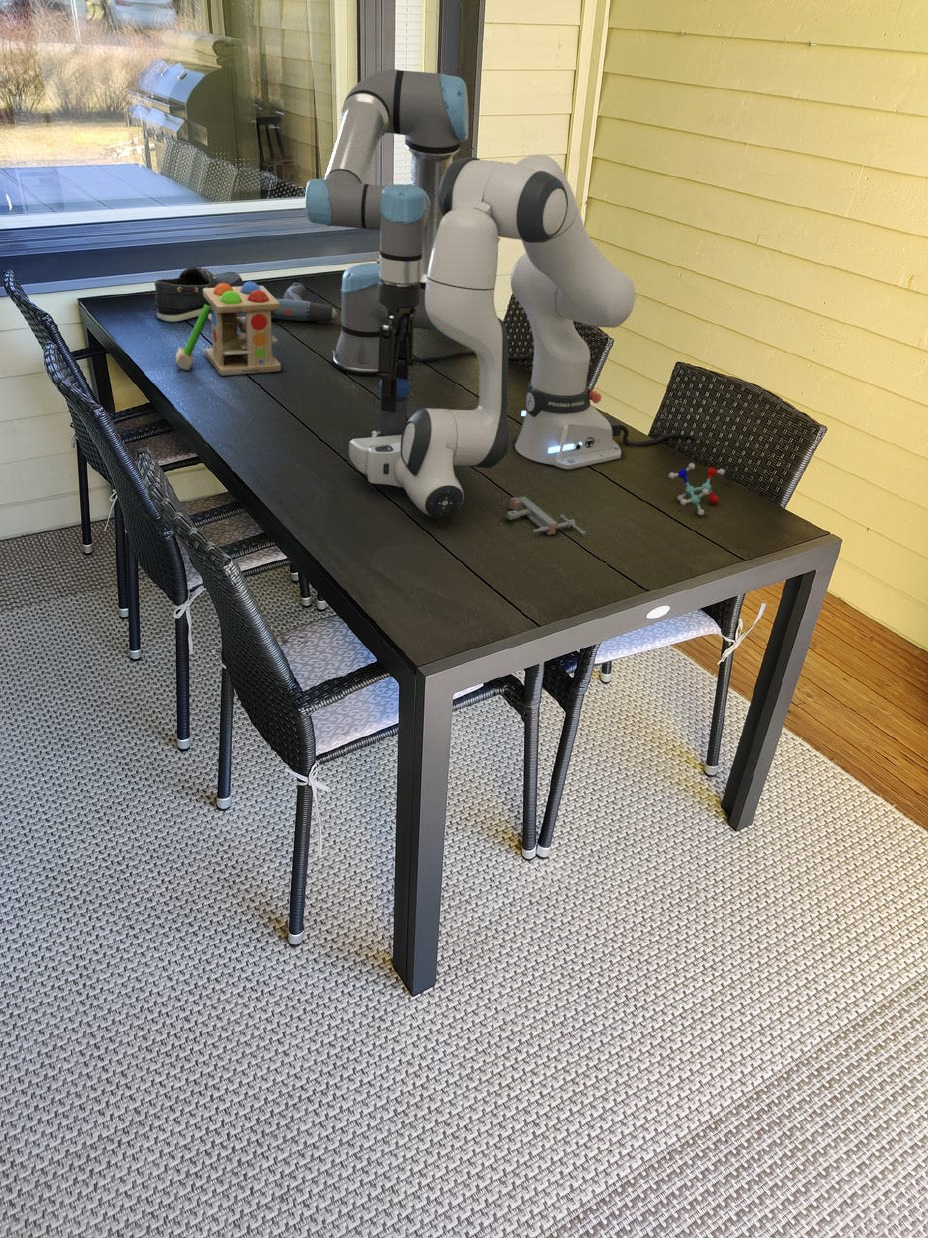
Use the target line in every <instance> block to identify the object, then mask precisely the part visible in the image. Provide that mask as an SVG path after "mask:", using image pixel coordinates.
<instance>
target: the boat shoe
mask: <svg viewBox="0 0 928 1238" xmlns="http://www.w3.org/2000/svg"><path fill="white" fill-rule="evenodd" d="M221 283H226V284H228V285H230V286H231V287H242V286H243V285H244V280H243V278H242V277H241V275H240V274H239V273H238V272H235V271H227V272H221V273H216V274H213V273H211V271H209V270H208V269H206V268H203V267H197V266H195V265H193V266H190V267H187V268H186V269H184V270H183V271H182V272H181V273H180V274H179V276H178V277H176V278H175V277H174V278H161V279H156V280H154V287H155V298H154V299H155V302H154V303H153V305H154V306H155V307H156V308H157V309H156V317H157V319H159V320H161V321H164V322H171V323H172V322H181V321H185V320H189V319H192V318H196V317H199V316H200V314H201V311H202V309H203V307H204V305H208V306H210V307H211V305H210V304H209V302H208V301H207V300H206V299H205V297H204V296H203V289H204V288H215V287H216V286H217V285H218V284H221Z"/></svg>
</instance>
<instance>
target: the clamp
mask: <svg viewBox="0 0 928 1238" xmlns="http://www.w3.org/2000/svg"><path fill="white" fill-rule="evenodd" d="M509 509H510V511H507V512H506V518H507V519H508V520H510V521H513V520H517V519H519V518H521V517H524V516H525V517H527V518H528V519H529V520H530V521H531V522H532V523H534V524H535V525H536V526H537V527H539V528H536V529H533V530H532V533H533V534H536V533H542V532H545V533H546V534H547V535H548V536H549V535H550V536H551V535H556V533H557V529H562V528H565V527H566V528H573V529H575V530H576V531H577V532H579V533H580V534H581V536H582V537H586V535H587V531H586V530H583V529H581V528H580V527H579V526H577V524H576V520H575V519H573V518H572V519H569V518H567V517H566V516H565V514H563V513H562V514H561V515H560V516H559V519H560V520H563V521H564V522H560V523H558V522H557V521H556V520H555V519H553V518H552V517H551V516H550V515H549V514H548V513H546V512H545V511H543V509H541V508H540V507H538V506H537V505H536V504H535V503H534V502H532V501H531V500H530V499H529V498H527V496H520V497H519V496H518V497H517V496H516V497H515V496H514V497H511V498H510V503H509Z"/></svg>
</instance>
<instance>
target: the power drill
mask: <svg viewBox="0 0 928 1238" xmlns="http://www.w3.org/2000/svg"><path fill="white" fill-rule="evenodd" d="M307 295H308V290H307V287H306V285H304V284H303V283H301V282H293V283H292V284H291V285H290V286H289V287H288V288H287V289H286V291H285V292H284V294H283V297H282V298H275V299H276V300H277V301H278V302H279V303H280V310H271V319H274V320H275V319H276V320H283V321H294V322H295V321H297V322H332V321H333V320H334V319H336V318H337V317H338V312H337V311H336V308H334V307H333V306H332V305H331V304H324V303H317V302H313V301H307V300H305V299H306V297H307Z"/></svg>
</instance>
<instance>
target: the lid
mask: <svg viewBox="0 0 928 1238" xmlns="http://www.w3.org/2000/svg"><path fill="white" fill-rule="evenodd" d="M378 392H379V393H380V394H381V392H382V379H380V381H379V390H378ZM410 393H411V382H410V381H407V380H404V379H401V378H397V395H396V398H401V397H406V396H407V397H408V396H409V395H410Z"/></svg>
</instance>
